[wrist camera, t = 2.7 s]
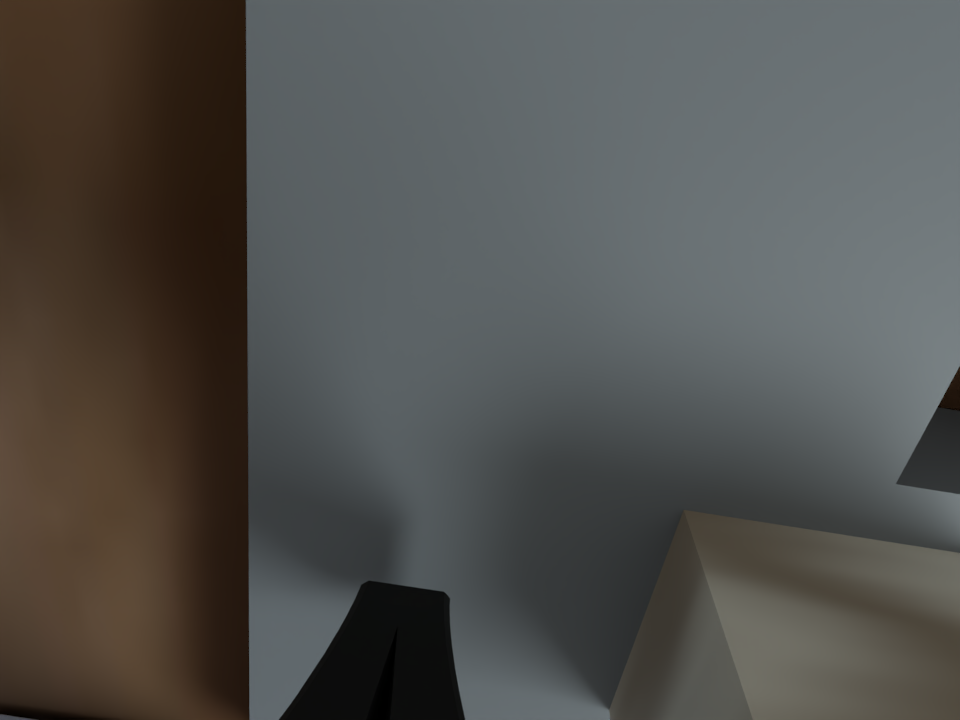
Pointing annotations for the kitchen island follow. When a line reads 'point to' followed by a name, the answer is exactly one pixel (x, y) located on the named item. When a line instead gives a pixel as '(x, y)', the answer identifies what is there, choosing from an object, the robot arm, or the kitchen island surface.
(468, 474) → the trap board
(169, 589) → the kitchen island surface
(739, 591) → the birch block
